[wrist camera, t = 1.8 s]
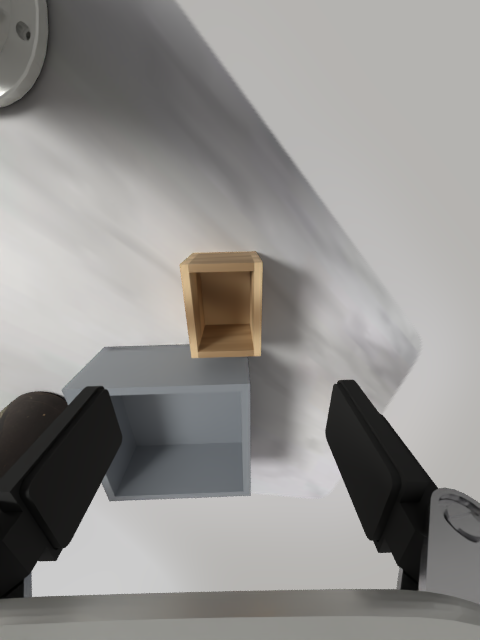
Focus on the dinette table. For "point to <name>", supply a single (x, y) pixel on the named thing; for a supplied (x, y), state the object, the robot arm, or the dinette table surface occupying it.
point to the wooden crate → (223, 303)
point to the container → (25, 424)
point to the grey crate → (174, 422)
